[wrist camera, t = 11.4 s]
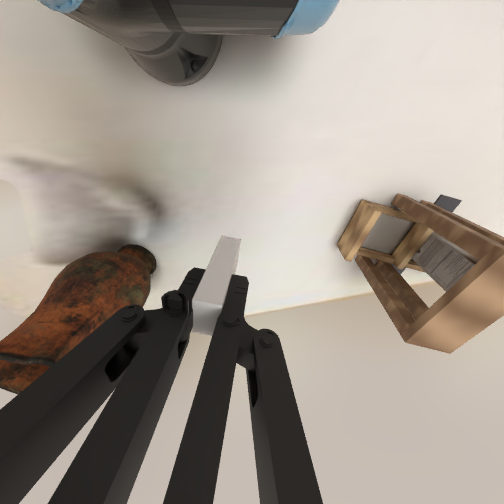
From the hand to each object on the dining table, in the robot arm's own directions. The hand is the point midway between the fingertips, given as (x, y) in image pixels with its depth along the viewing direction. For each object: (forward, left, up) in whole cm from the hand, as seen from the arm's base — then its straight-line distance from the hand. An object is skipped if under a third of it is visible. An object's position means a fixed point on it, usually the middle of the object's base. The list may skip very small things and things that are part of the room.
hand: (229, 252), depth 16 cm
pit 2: (-4, +36, -28) cm, 46 cm away
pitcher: (+30, -27, -28) cm, 49 cm away
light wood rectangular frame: (+4, +34, -27) cm, 43 cm away
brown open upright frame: (+4, +30, -28) cm, 41 cm away
